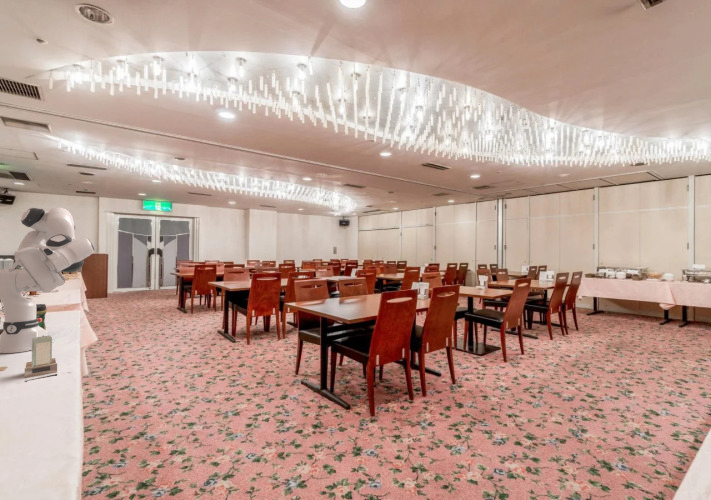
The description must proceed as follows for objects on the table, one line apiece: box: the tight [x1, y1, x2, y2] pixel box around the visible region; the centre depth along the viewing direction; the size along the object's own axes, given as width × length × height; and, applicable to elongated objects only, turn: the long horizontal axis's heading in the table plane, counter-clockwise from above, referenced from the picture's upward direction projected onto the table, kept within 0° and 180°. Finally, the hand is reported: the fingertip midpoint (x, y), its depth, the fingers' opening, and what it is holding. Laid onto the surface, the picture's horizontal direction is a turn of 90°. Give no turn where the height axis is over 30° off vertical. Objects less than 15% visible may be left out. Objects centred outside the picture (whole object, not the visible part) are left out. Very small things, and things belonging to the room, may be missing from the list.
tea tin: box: [31, 335, 53, 367], centre depth 132 cm, size 5×5×13 cm
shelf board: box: [24, 357, 58, 382], centre depth 136 cm, size 24×9×4 cm, turn 43°
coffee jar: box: [36, 303, 48, 331], centre depth 188 cm, size 10×8×19 cm
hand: (16, 280), depth 137 cm, fingers open, 8 cm apart
